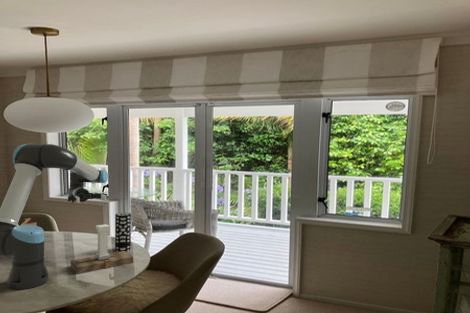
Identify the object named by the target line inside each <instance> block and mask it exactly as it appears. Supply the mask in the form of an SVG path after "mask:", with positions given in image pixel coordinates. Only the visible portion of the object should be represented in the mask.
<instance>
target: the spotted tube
mask: <svg viewBox="0 0 470 313" xmlns="http://www.w3.org/2000/svg"><path fill="white" fill-rule="evenodd" d="M114 220H115V221H114V223H115V224H114V228H115V229H114V231H115V232H114V234H115V235H114V251H115V252H121V251H125V252H126V253H127V252H129V251H131V250H130V249H132V246H131V245H132V244H131V243H132V242H131V241H132V236H131V235H132V213H129V212H120V213H115V217H114Z"/></svg>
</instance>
